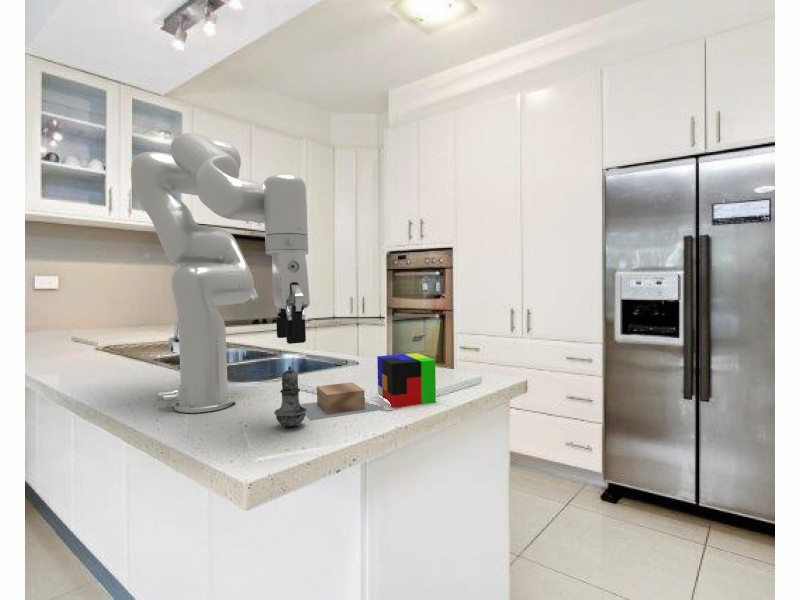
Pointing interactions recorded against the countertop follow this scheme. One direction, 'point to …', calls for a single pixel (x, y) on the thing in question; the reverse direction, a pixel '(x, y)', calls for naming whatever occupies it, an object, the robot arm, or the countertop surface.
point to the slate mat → (317, 413)
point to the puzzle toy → (406, 379)
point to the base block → (340, 398)
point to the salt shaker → (290, 401)
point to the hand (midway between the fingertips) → (290, 340)
